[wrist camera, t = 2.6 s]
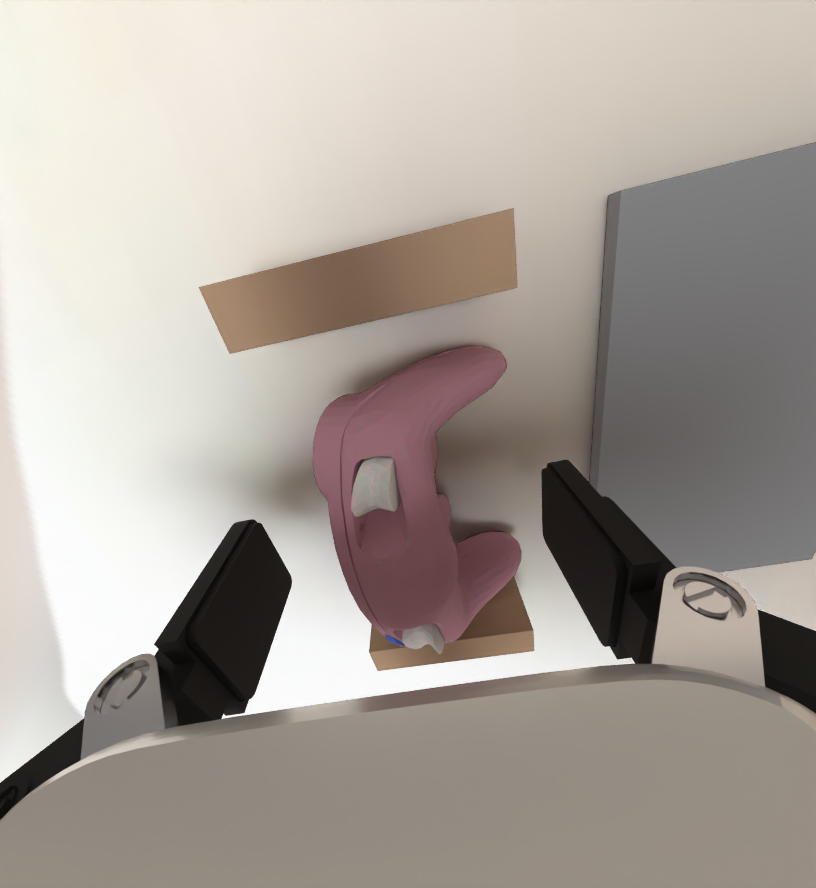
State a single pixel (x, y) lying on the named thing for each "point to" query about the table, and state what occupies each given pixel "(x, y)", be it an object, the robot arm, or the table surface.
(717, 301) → the mat
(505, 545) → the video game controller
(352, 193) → the table surface
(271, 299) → the dock
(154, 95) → the table surface
